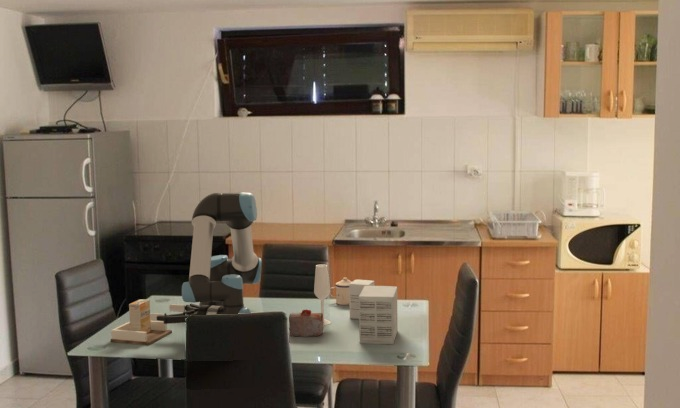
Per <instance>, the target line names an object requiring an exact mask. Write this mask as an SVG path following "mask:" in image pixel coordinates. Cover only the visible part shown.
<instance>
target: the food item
mask: <svg viewBox="0 0 680 408" xmlns="http://www.w3.org/2000/svg"><path fill="white" fill-rule="evenodd" d="M324 318H325V317H324ZM324 318H323V314H322V313H321V312H312V310H311V309H306V308H305V309H302V312H291V313H290V314H289V315H288V322H289V323H288V324H289V325H288V326H289V327H288V335H289V337H301V336H302V337H303V338H308V337H318V336H319V337H320V335H322V334H323V333H324V329H325V327H324V326H325V325H323V324H324Z"/></svg>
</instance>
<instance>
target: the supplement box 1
mask: <svg viewBox="0 0 680 408" xmlns="http://www.w3.org/2000/svg"><path fill="white" fill-rule="evenodd" d="M128 308H129V309H128V310H129V313H128V314H129V322H130V331H142V332H147V333H149V332H151V321H150V313H151V300H150V299H147V298H146V299H145V298H143V299H139V298H138V299H137V300H135V301H133V302H131V303H129V304H128Z"/></svg>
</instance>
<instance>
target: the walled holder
mask: <svg viewBox="0 0 680 408" xmlns="http://www.w3.org/2000/svg"><path fill="white" fill-rule="evenodd" d="M110 331H111V332H110V334H111V339H110V342H111V343H120V344H121V343H122V344H133V345H134V344H135V345H145V346H150V345H152V344H155V343H156V342H158V341H159V340H161V339H163V338H165V337H167V336H169V335H171V334H172V333H173V331H172V330H171V329H168V324H164V322H162V321H151V332H149V333H147V332H142V331H130V321H127V322H126V323H123V324H121V325H118V326H117V327H115V328H113V329H111V330H110Z"/></svg>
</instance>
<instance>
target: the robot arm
mask: <svg viewBox="0 0 680 408" xmlns="http://www.w3.org/2000/svg"><path fill="white" fill-rule="evenodd" d="M256 202H257V201H256V199H255V196H254V194H253V193H252V192H244V191H241V192H239V191H238V192H213V193H210V194H208V195H207V196H205V197H203V198H202V199H201V200H200V201H199V203H198V204H196V207H195V208H194V210H193V213H192V215H191V216H192V217H191V225H192V227H193V232H192V233H193V234H192V241H191V242H192V244H191V254H190V264H189V265H190V266H189V275H188V276H189V277H188V281H185V282H183V283H182V285H181V298H182V300H183V302H184V303H189V304H174V303H173V304H172V303H169V305H168V306H169V307H168V308H169V312H177V313H173V314H167V313H166V312H165V313H155V312H150V321H162V322H164V324H167V325H168V324H183V323H186V318H187V317H188V316H190V315H208V314H238V313H251V310H250V308H248V307H245V304H244V285H256V284H259V283H260V282H261V275H262V262H263V261H262V258H261V257H258V255H257V254H256V252H254V242H253V235H252V232H253V231H252V225H253V223H254V221H256V220H257V217H258V209H257V203H256ZM218 222H220V223H221V222H222V223H225V224H226V226H227V227H228V228H229V229H230V230H229V231H230V237H231V242H232V250H233V256H232V257H231V258H229V256H228V255H227V254H219V255H212V253H213V252H212V251H213V238H214V237H213V236H214V229H215V228H216V226H217V223H218ZM196 303H198V304H196ZM186 324H187V323H186Z"/></svg>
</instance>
